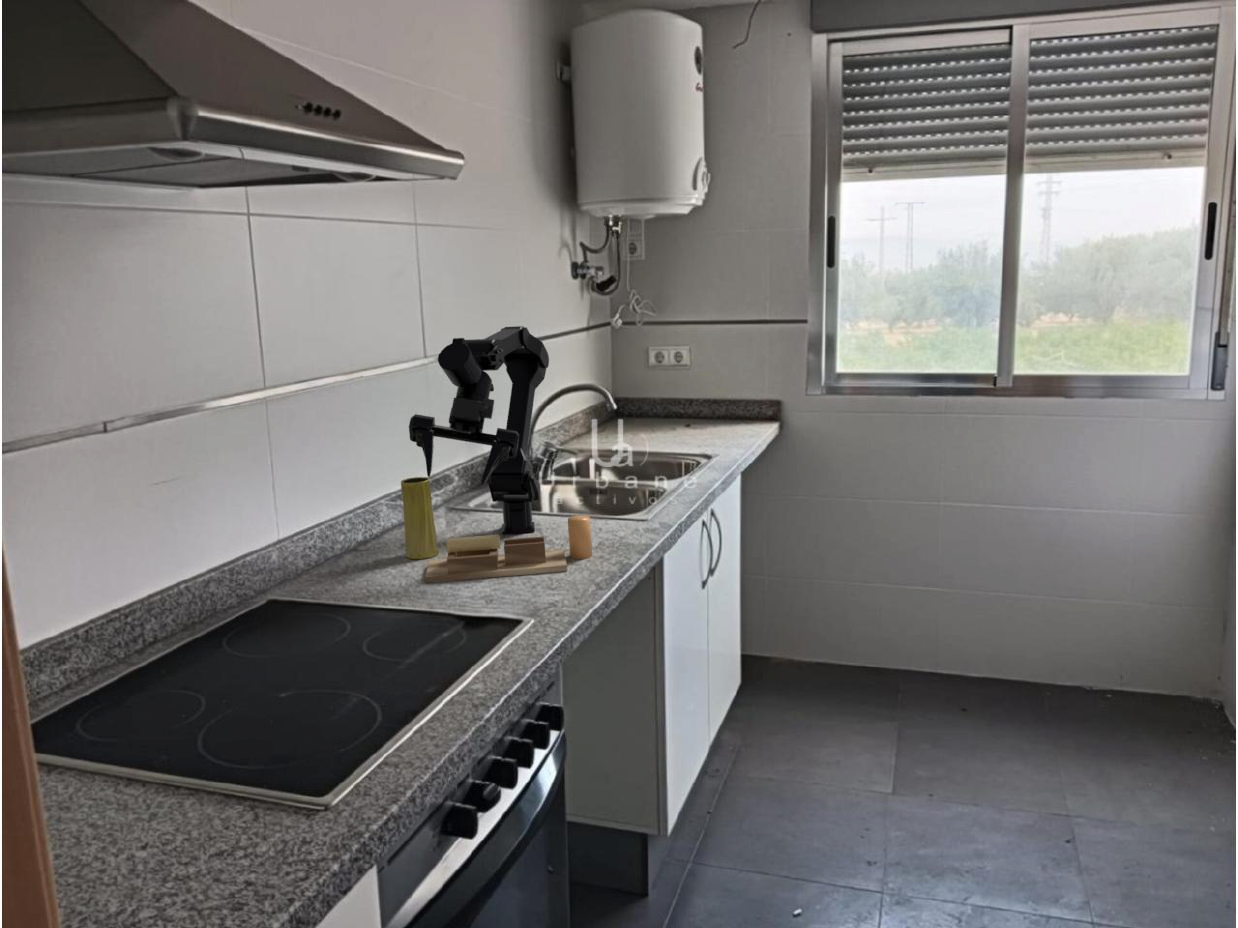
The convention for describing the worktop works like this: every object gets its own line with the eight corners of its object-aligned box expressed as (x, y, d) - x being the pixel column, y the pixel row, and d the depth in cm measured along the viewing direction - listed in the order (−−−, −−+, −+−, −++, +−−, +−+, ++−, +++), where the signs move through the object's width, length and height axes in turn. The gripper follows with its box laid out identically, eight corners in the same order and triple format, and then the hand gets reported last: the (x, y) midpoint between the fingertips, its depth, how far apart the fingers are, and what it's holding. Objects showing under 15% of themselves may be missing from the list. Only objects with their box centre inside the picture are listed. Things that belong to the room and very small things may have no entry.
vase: (399, 555, 185) (392, 480, 182) (428, 548, 189) (421, 475, 186) (415, 561, 180) (408, 485, 177) (445, 554, 184) (438, 479, 181)
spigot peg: (569, 553, 180) (567, 516, 179) (591, 551, 181) (589, 514, 179) (570, 559, 176) (568, 521, 175) (593, 558, 177) (590, 520, 175)
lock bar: (448, 549, 173) (447, 538, 173) (500, 545, 174) (499, 534, 173) (447, 552, 171) (446, 541, 171) (500, 548, 172) (499, 537, 171)
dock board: (430, 565, 177) (427, 541, 176) (564, 554, 180) (562, 530, 179) (425, 582, 167) (423, 557, 167) (567, 570, 170) (565, 545, 169)
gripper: (417, 368, 167) (398, 450, 161) (526, 387, 169) (512, 469, 162) (419, 400, 177) (401, 478, 170) (522, 418, 179) (509, 496, 172)
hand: (455, 480), depth 169 cm, fingers open, 9 cm apart
